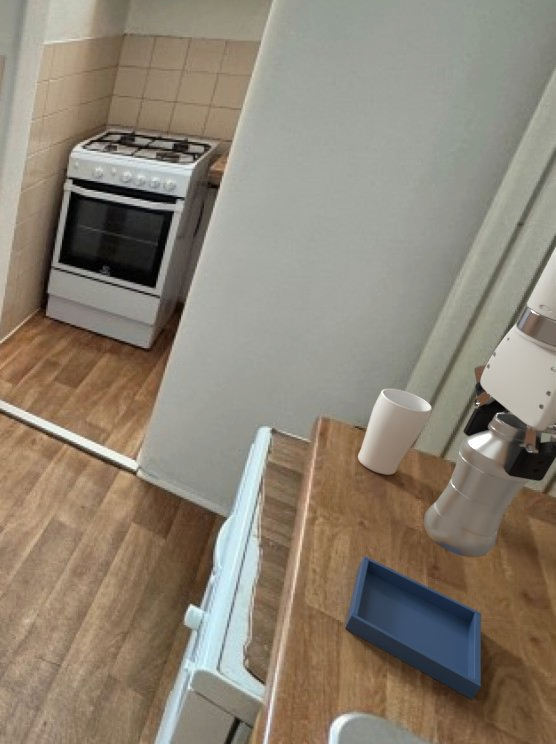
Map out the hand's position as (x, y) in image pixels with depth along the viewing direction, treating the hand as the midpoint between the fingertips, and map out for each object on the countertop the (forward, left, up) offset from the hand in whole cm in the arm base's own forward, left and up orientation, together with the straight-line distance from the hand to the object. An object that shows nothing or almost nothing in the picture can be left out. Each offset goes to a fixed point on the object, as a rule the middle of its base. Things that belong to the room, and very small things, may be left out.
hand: (500, 454), depth 74 cm
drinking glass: (-11, -33, -28) cm, 45 cm away
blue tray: (+2, +3, -28) cm, 28 cm away
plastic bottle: (0, 0, -15) cm, 15 cm away
